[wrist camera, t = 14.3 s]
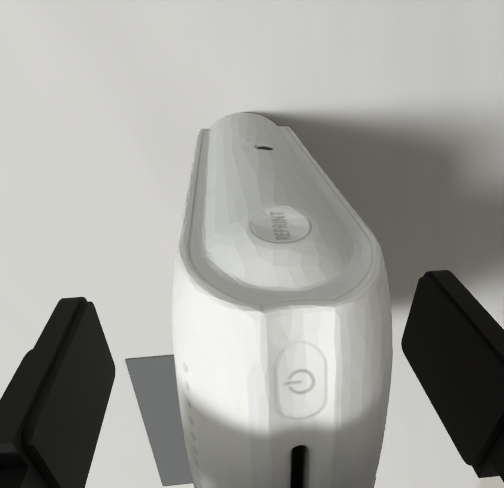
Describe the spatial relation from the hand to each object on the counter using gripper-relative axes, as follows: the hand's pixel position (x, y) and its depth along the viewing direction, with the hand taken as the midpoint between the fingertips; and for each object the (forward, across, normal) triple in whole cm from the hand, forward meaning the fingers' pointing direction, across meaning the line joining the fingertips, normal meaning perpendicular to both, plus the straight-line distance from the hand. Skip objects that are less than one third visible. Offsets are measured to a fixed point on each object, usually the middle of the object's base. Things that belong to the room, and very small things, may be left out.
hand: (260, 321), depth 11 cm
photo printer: (+7, 0, +1) cm, 7 cm away
